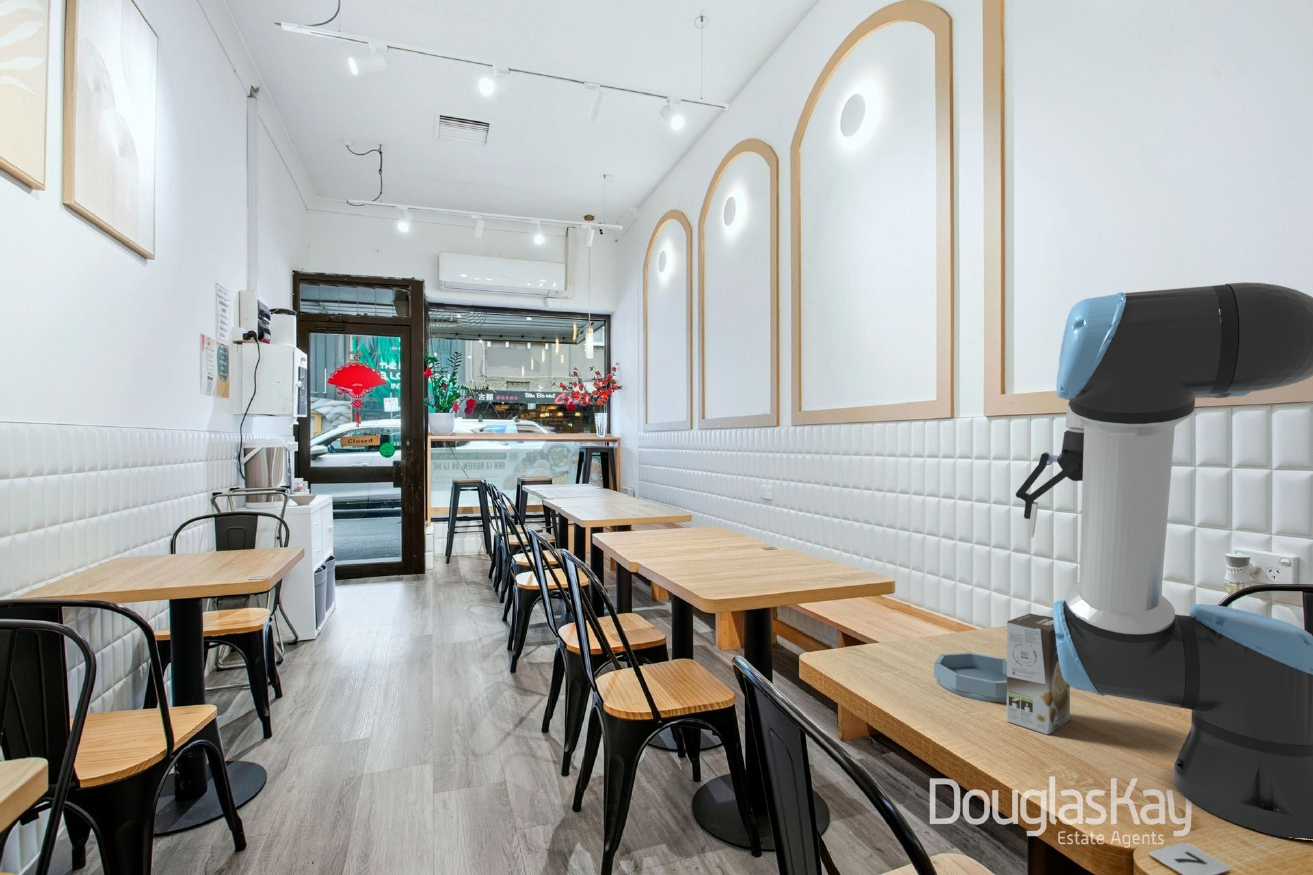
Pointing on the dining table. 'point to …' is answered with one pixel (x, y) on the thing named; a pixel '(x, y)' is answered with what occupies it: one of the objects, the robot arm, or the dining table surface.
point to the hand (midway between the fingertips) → (1072, 544)
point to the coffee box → (1035, 675)
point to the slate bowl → (973, 676)
